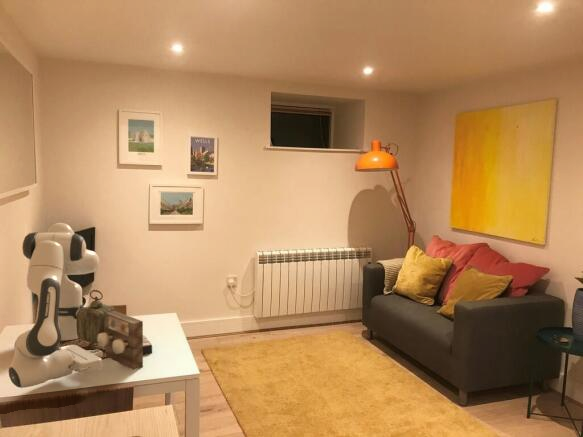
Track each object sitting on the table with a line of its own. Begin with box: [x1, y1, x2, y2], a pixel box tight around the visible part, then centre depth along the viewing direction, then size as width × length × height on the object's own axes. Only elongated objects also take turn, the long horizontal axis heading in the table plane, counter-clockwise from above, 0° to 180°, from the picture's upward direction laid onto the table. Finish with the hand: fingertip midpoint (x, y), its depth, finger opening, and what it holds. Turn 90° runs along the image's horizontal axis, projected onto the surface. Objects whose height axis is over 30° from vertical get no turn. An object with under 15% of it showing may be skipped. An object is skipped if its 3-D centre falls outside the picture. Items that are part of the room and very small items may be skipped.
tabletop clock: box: [76, 289, 116, 350], centre depth 202 cm, size 14×9×25 cm, turn 66°
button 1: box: [97, 332, 113, 348], centre depth 190 cm, size 7×5×5 cm
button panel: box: [105, 310, 144, 371], centre depth 189 cm, size 4×20×18 cm, turn 51°
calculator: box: [143, 335, 153, 356], centre depth 203 cm, size 11×4×15 cm
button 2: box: [112, 339, 129, 354], centre depth 183 cm, size 7×5×5 cm
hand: (100, 352), depth 176 cm, fingers closed
